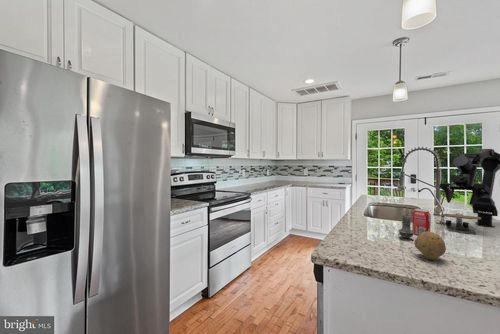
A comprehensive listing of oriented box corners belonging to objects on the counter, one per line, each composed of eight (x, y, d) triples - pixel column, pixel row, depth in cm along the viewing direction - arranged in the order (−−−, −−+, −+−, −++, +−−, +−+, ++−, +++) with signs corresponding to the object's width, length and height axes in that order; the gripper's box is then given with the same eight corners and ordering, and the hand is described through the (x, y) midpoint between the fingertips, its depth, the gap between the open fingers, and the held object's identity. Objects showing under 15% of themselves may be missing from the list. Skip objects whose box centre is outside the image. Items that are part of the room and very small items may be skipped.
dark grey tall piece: (416, 241, 100) (417, 215, 100) (401, 240, 102) (402, 214, 101) (410, 237, 106) (410, 211, 106) (396, 236, 107) (396, 211, 107)
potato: (408, 255, 86) (409, 229, 86) (422, 252, 89) (423, 226, 89) (436, 266, 78) (437, 237, 77) (450, 261, 81) (451, 233, 81)
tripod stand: (444, 223, 129) (444, 214, 129) (468, 226, 124) (468, 216, 123) (448, 231, 116) (449, 220, 116) (475, 234, 110) (476, 223, 110)
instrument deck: (441, 216, 132) (441, 211, 132) (470, 219, 125) (470, 214, 125) (447, 215, 114) (447, 210, 114) (480, 219, 107) (480, 214, 108)
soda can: (423, 232, 114) (424, 208, 113) (433, 237, 107) (434, 211, 106) (408, 232, 114) (409, 208, 114) (417, 236, 107) (418, 211, 107)
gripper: (436, 168, 121) (428, 195, 118) (481, 167, 104) (473, 198, 101) (449, 178, 124) (441, 204, 121) (495, 178, 107) (487, 208, 104)
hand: (458, 203), depth 112 cm, fingers open, 9 cm apart
